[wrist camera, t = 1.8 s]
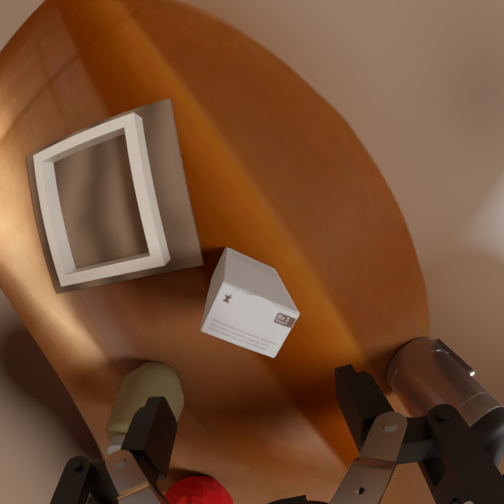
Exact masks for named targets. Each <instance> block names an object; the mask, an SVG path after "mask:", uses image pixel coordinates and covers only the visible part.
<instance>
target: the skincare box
mask: <svg viewBox="0 0 504 504" xmlns="http://www.w3.org/2000/svg"><path fill="white" fill-rule="evenodd" d="M298 316H299V312H298V310H297V308H296V306H295V304H294V303H293V301H292V299H291V297H290V295H289V293H288V292H287V290H286V288H285V286H284V284H283V282H282V281H281V279H280V277H279V275H278V273H277V271H276V270H275V269H274V268H272V267H270V266H268V265H266V264H263V263H261V262H259V261H257V260H255V259H252V258H250V257H248V256H246V255H244V254H241V253H239V252H237V251H235V250H233V249H230V248H228V247H226V248H225V249H224V252H223V254H222V256H221V258H220V260H219V262H218V264H217V266H216V269H215V271H214V273H213V275H212V278H211V283H210V287H209V291H208V295H207V300H206V304H205V309H204V313H203V319H202V322H201V327H200V330H201V331H202V332H204V333H207V334H209V335H212V336H215V337H217V338H220V339H222V340H225V341H228V342H230V343H233V344H236V345H239V346H241V347H244V348H247V349H250V350H252V351H255V352H258V353H261V354H264V355H267V356H270V357H272V358H274V357H275V356H276V354H277V352H278V351H279V349H280V347H281V346H282V344H283V342H284V340H285V339H286V337H287V335H288V334H289V332H290V330H291V328H292V327H293V325H294V323H295V321H296V320H297V318H298Z"/></svg>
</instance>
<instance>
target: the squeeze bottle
mask: <svg viewBox="0 0 504 504" xmlns="http://www.w3.org/2000/svg"><path fill="white" fill-rule="evenodd" d="M157 396H164V397H165V398H166V400H167V402H168V404H169V406H170V408H171V410H172V412H173V414H174V416H175V418H176V421H177V422H178V419H179V417H180V414H181V412H182V409H183V407H184V395H183V391H182V387H181V383H180V379H179V377H178V375H177V373H176V372H175V371H174V370H173V369H172V368H171V367H169V366H167V365H165V364H163V363H160V362H155V361H152V362H146V363H144V364H143V365H141V366H139V367H138V368H136V369H135V370H133V371H132V372H130V373H129V374H127V375H126V376H125V377H124V379H123V382H122V384H121V387H120V389H119V392H118V395H117V398H116V401H115V404H114V407H113V410H112V412H111V415H110V418H109V421H108V425H107V428H106V434H107V437H108V439H109V440H110V443H109V446H108V448H107V450H106V451H107V454H108V456H109V455H110V454H111V453H112V452H114V451H117V450H120V448H121V446H122V443H123V440H124V438H125V435H126V433H127V430H128V429H129V425H130V423H131V421H132V418H133V416H134V414H135V413H136V412H137V410H138V409H139V408H140V407H144V406H145V404H146V401H147V399H148V397H157Z"/></svg>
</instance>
